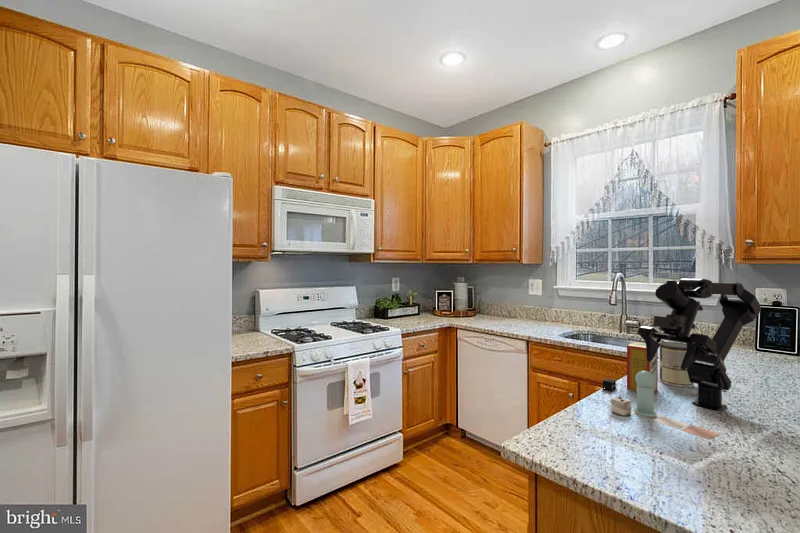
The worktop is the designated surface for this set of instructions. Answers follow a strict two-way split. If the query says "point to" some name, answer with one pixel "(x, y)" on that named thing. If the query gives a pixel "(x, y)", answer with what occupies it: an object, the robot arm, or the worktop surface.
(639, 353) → the baking soda box
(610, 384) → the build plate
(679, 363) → the coffee can
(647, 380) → the pawn
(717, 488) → the worktop surface
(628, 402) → the game board
